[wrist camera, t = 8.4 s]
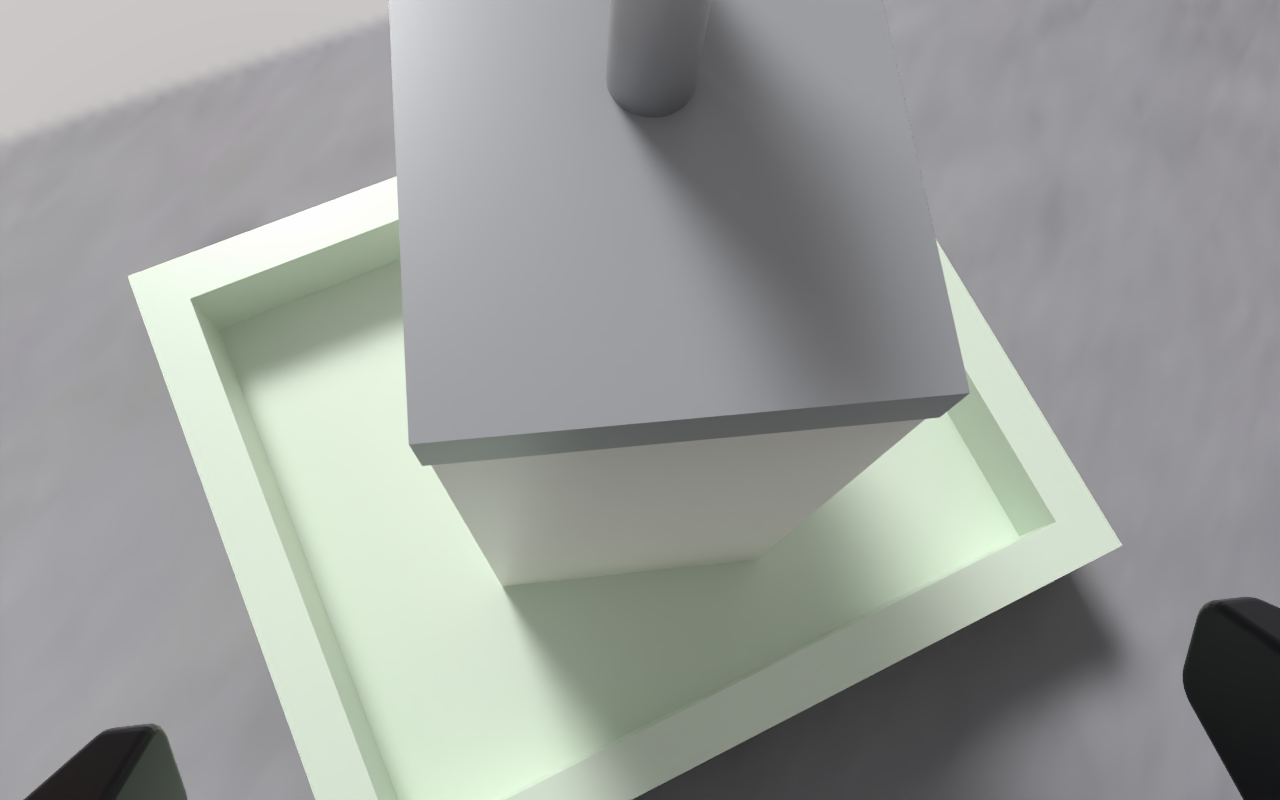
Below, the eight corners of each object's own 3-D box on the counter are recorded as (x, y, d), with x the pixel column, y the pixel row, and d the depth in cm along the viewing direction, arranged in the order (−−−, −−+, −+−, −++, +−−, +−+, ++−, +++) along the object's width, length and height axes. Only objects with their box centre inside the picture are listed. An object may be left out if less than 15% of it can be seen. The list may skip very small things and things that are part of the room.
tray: (784, 87, 21) (805, 24, 19) (1064, 562, 18) (1122, 545, 16) (174, 321, 18) (127, 276, 16) (390, 910, 16) (364, 937, 14)
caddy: (760, 562, 17) (1251, 165, 5) (499, 589, 17) (275, 235, 4) (720, 292, 19) (1010, -553, 6) (480, 310, 18) (273, -550, 6)
